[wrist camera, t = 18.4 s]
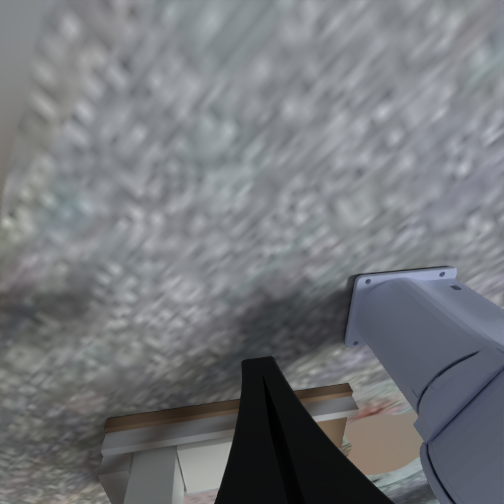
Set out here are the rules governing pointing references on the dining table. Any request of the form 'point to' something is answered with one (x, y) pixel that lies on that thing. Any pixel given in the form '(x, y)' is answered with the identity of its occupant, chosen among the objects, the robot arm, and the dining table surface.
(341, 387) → the rail board
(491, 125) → the dining table surface
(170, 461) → the block
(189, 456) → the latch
